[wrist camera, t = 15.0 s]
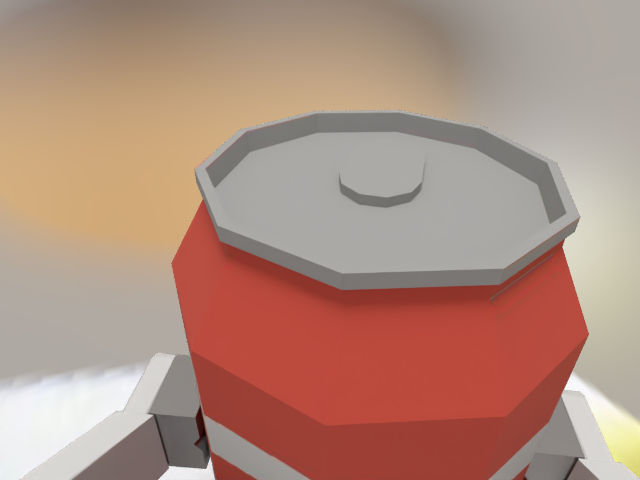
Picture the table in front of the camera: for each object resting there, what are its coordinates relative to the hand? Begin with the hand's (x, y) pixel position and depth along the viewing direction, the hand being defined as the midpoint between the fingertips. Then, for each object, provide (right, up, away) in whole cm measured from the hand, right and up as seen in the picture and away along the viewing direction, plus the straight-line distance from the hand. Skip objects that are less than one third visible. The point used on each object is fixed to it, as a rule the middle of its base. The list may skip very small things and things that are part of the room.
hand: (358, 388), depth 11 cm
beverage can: (0, -6, +3) cm, 6 cm away
